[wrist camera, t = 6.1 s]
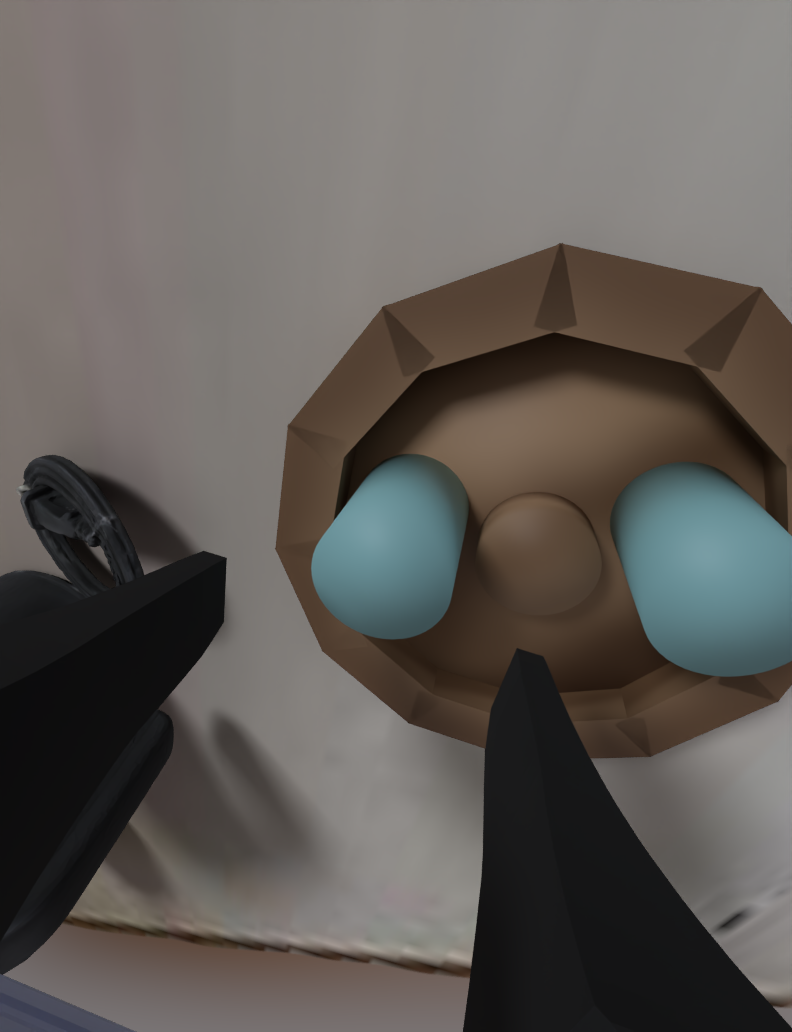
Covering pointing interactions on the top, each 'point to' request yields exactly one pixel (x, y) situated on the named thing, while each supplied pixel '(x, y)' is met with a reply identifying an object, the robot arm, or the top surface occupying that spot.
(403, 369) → the groove tray
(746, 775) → the top surface
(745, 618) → the seated bead
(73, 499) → the milk frother
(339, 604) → the bead
